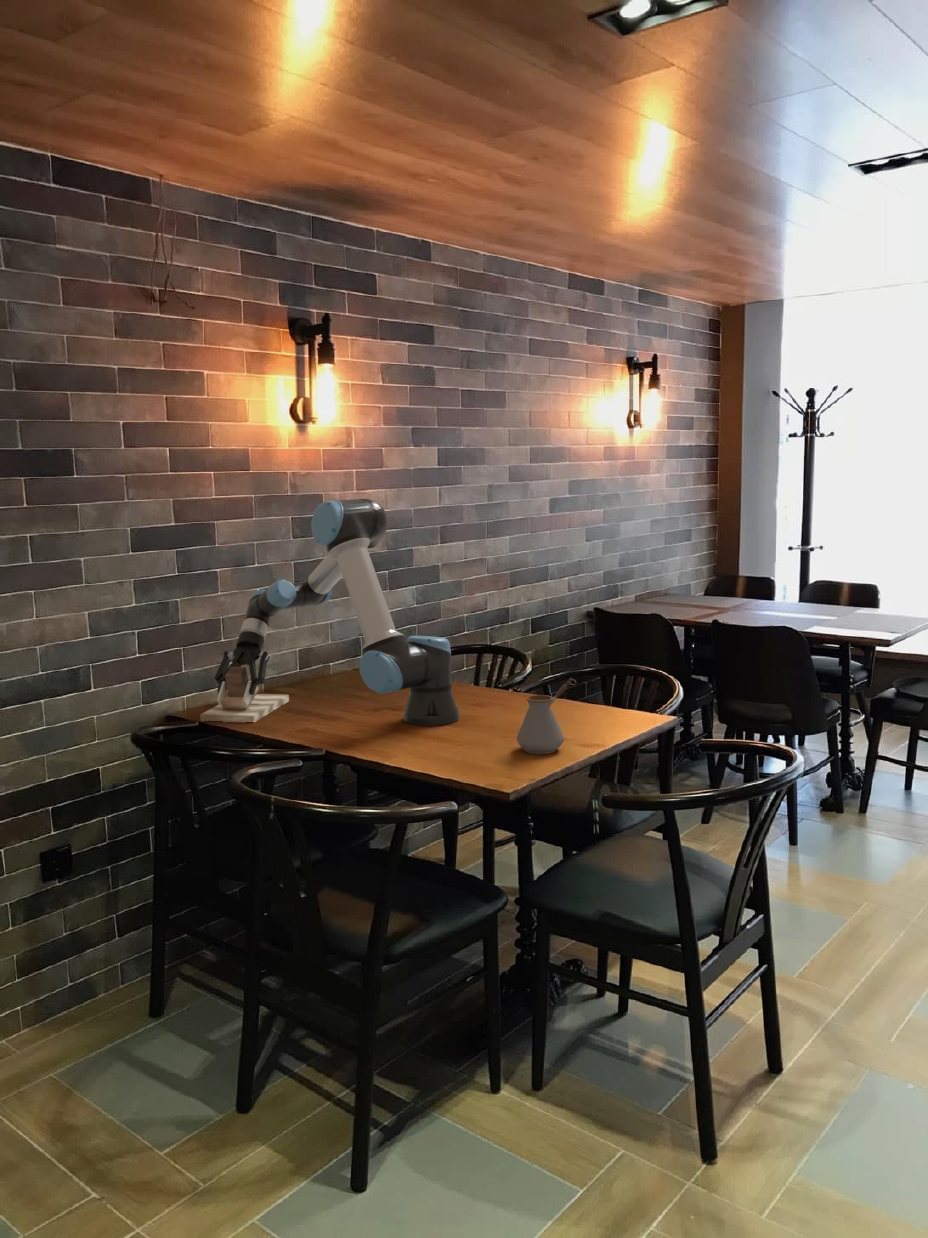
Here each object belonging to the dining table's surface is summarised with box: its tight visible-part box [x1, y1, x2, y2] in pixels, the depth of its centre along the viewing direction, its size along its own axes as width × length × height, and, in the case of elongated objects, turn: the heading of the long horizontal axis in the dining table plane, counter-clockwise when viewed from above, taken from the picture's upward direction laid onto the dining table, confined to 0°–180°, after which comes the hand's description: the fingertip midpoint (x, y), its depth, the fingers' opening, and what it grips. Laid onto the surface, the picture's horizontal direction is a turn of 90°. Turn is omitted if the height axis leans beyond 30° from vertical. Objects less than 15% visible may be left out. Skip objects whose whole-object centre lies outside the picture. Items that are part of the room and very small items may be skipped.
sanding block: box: [221, 666, 260, 710], centre depth 281 cm, size 11×7×10 cm, turn 171°
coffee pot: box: [516, 677, 577, 755], centre depth 239 cm, size 21×12×15 cm, turn 143°
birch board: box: [199, 693, 290, 723], centre depth 286 cm, size 26×16×2 cm, turn 168°
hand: (232, 703), depth 277 cm, fingers closed on sanding block, 7 cm apart
